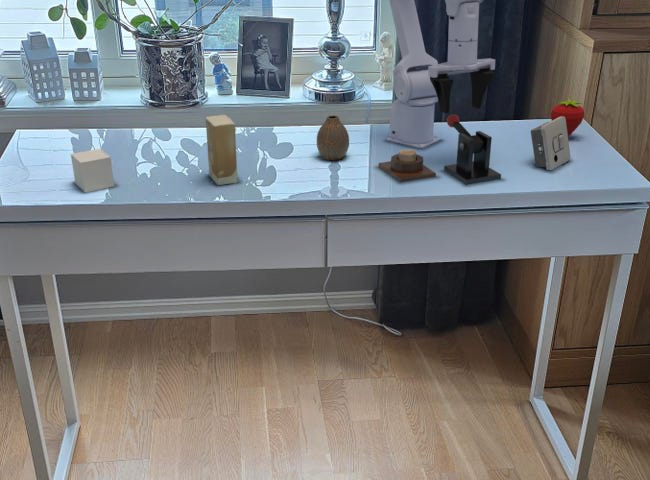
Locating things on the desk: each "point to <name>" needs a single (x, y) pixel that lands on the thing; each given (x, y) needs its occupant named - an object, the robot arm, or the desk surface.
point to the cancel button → (407, 155)
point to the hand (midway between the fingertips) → (460, 109)
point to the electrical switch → (551, 144)
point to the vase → (332, 139)
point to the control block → (407, 169)
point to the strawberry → (569, 114)
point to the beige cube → (92, 170)
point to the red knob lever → (465, 132)
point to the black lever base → (471, 169)
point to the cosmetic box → (221, 149)
